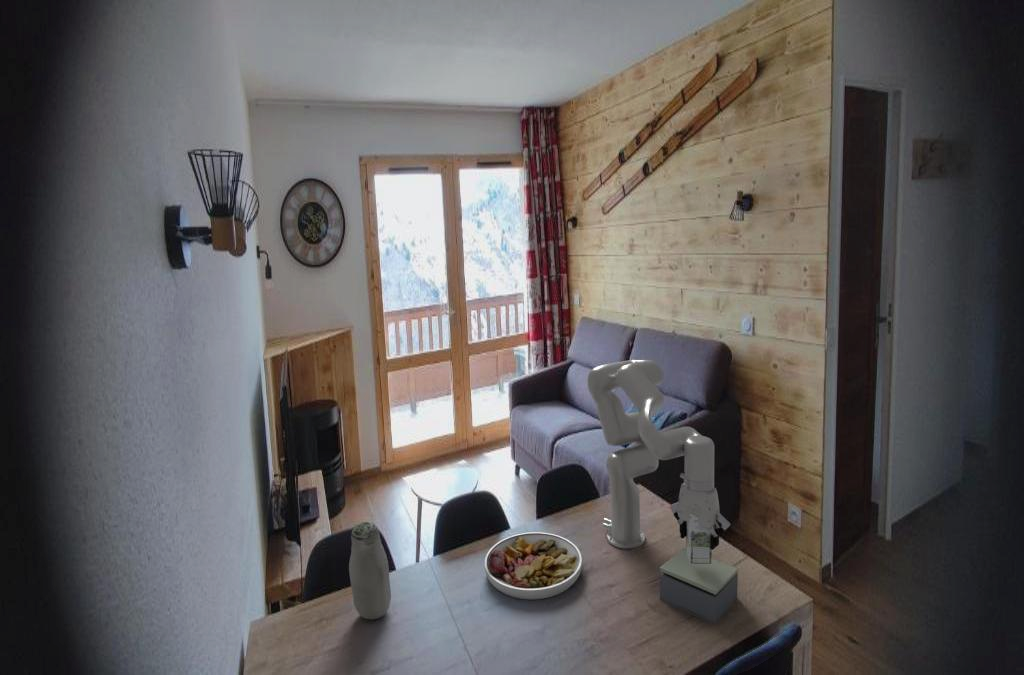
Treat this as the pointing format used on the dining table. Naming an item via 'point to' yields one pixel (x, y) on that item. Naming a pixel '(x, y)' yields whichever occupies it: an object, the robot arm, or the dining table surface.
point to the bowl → (533, 565)
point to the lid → (699, 572)
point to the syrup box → (698, 542)
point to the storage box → (698, 597)
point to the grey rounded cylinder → (369, 572)
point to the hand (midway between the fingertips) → (698, 541)
